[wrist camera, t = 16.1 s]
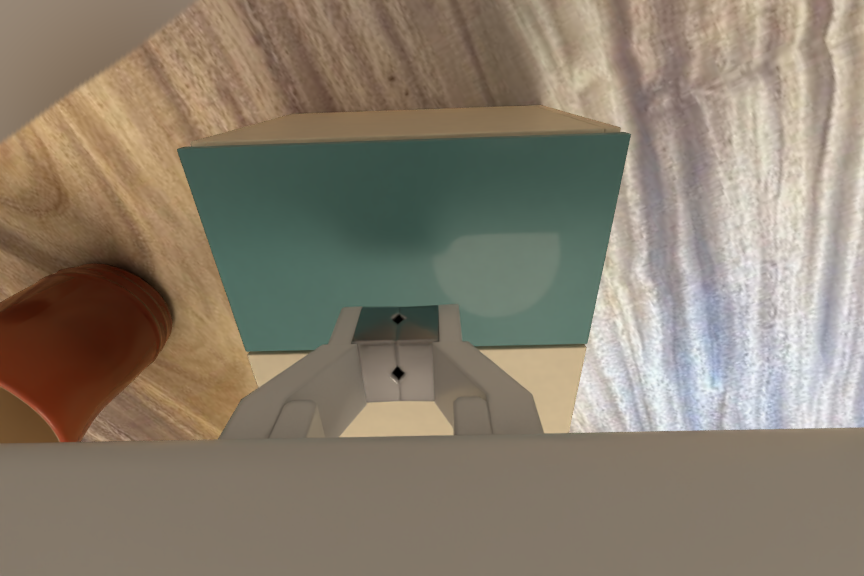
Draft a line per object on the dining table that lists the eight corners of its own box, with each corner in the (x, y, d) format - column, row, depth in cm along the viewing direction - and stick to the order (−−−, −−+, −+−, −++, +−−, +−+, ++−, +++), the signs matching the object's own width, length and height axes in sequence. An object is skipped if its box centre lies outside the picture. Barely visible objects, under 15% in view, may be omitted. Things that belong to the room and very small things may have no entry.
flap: (184, 146, 11) (175, 149, 11) (625, 131, 11) (631, 133, 11) (250, 345, 15) (245, 351, 14) (584, 337, 15) (587, 344, 14)
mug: (47, 224, 23) (-202, 321, 14) (198, 275, 24) (62, 391, 16) (58, 366, 28) (-116, 502, 19) (181, 400, 30) (73, 539, 21)
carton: (291, 113, 20) (173, 146, 11) (542, 104, 20) (634, 130, 11) (336, 344, 27) (287, 477, 18) (519, 340, 27) (561, 473, 18)
